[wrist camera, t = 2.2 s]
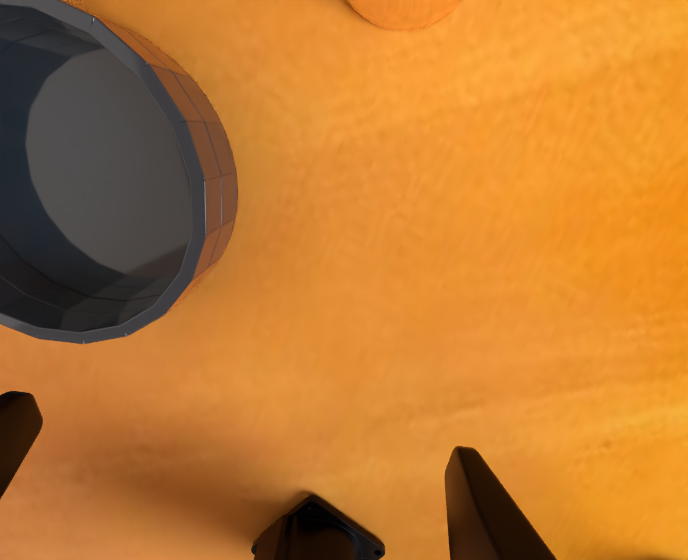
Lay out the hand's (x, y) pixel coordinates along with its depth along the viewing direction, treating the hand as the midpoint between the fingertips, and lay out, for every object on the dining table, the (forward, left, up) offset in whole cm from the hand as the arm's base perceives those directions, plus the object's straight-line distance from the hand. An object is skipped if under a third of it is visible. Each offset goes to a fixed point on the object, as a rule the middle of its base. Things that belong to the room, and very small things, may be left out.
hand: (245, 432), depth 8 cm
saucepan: (+10, +4, -12) cm, 16 cm away
